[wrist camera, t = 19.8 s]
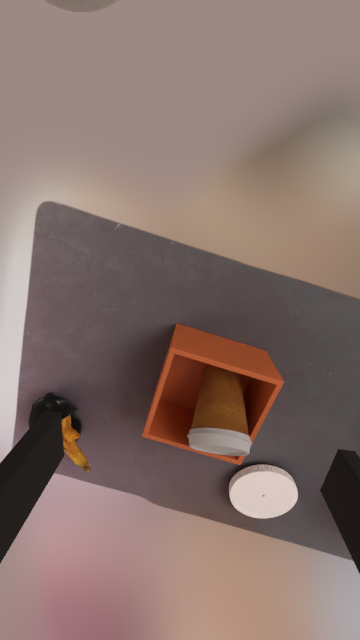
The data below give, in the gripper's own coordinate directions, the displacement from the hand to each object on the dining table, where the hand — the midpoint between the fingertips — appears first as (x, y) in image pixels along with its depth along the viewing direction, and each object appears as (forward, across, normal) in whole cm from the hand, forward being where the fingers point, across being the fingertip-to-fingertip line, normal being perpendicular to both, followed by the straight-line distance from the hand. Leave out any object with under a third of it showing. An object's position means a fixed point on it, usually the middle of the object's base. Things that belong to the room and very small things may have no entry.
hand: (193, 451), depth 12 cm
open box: (+31, +4, -15) cm, 35 cm away
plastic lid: (+30, +19, -41) cm, 54 cm away
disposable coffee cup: (+28, +6, -12) cm, 32 cm away
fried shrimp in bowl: (+31, -23, -30) cm, 49 cm away
